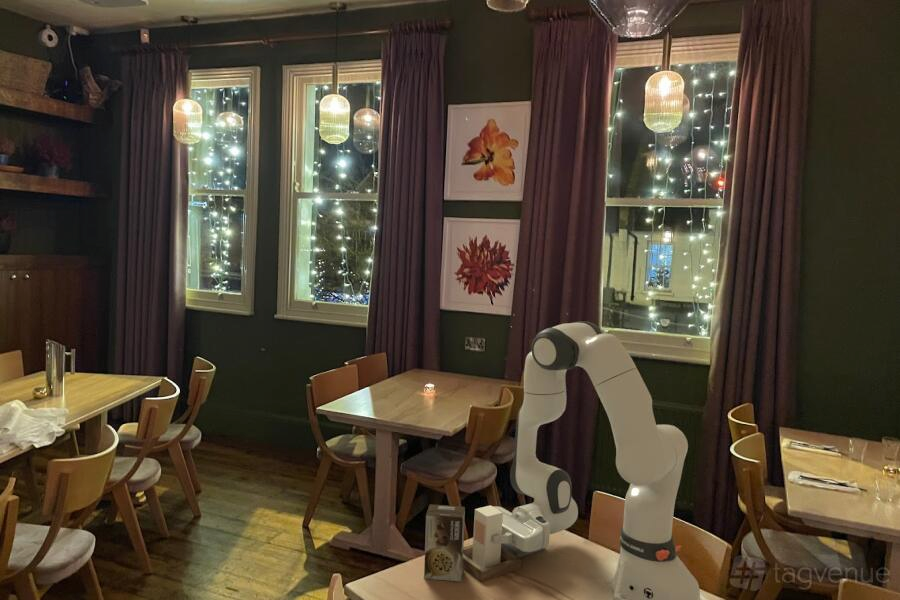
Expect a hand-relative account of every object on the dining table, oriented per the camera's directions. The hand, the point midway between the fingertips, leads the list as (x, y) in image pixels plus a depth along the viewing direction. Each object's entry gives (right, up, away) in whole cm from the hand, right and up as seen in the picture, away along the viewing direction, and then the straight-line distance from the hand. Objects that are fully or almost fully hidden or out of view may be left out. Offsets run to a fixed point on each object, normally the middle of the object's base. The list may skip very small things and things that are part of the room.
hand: (484, 534), depth 164 cm
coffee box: (-10, -8, -4) cm, 14 cm away
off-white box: (0, -8, +1) cm, 8 cm away
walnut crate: (0, -8, +1) cm, 8 cm away
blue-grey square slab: (+10, -7, +12) cm, 17 cm away
